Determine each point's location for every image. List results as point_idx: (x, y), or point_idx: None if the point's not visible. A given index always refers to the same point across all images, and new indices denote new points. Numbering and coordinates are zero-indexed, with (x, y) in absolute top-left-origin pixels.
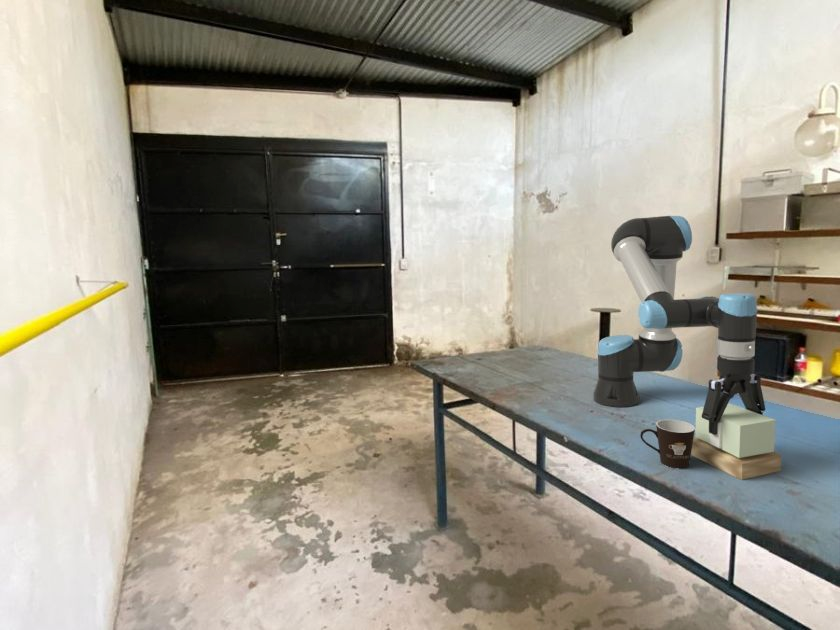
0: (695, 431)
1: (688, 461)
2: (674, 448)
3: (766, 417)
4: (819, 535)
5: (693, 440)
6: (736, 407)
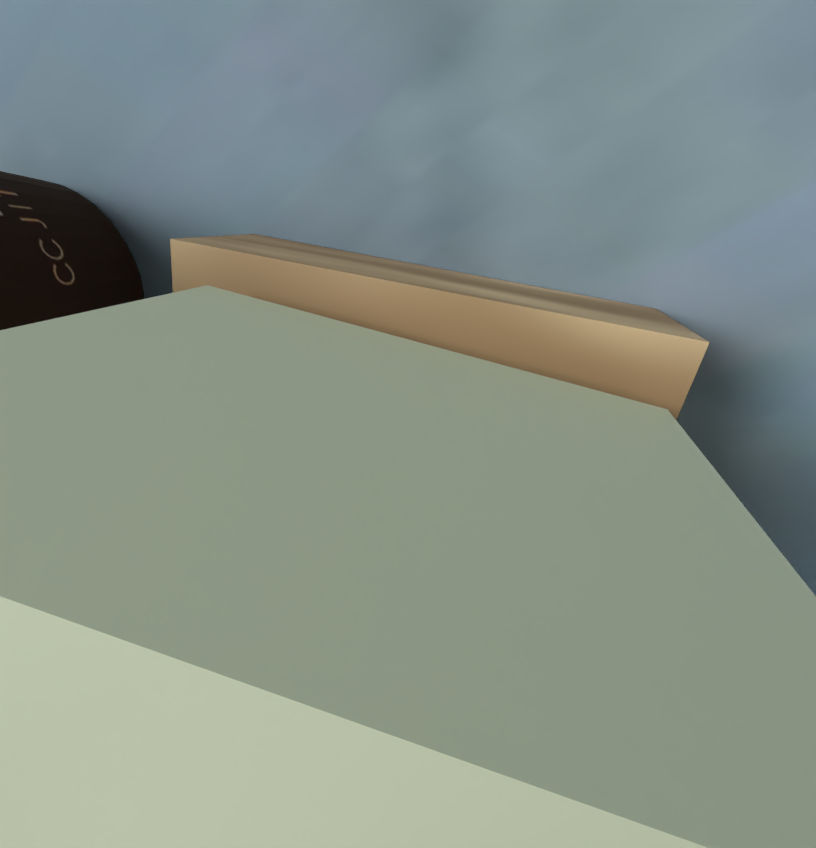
0: (164, 295)
1: None
2: None
3: None
4: None
5: (191, 287)
6: None
